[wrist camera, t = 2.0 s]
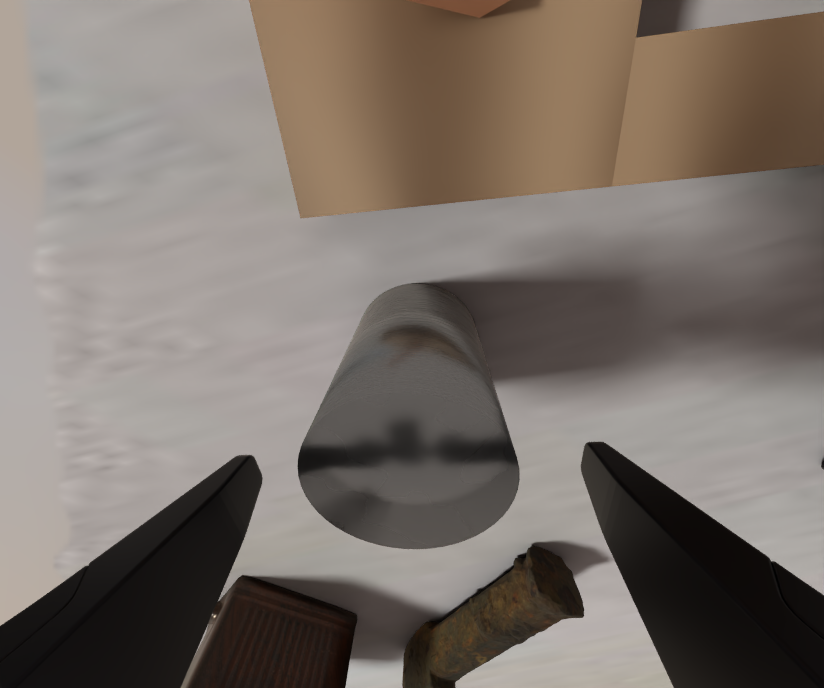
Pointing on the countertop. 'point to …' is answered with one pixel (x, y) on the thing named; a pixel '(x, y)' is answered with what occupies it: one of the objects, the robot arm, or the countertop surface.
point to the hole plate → (528, 99)
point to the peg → (411, 428)
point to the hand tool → (493, 621)
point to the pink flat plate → (465, 5)
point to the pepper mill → (272, 641)
